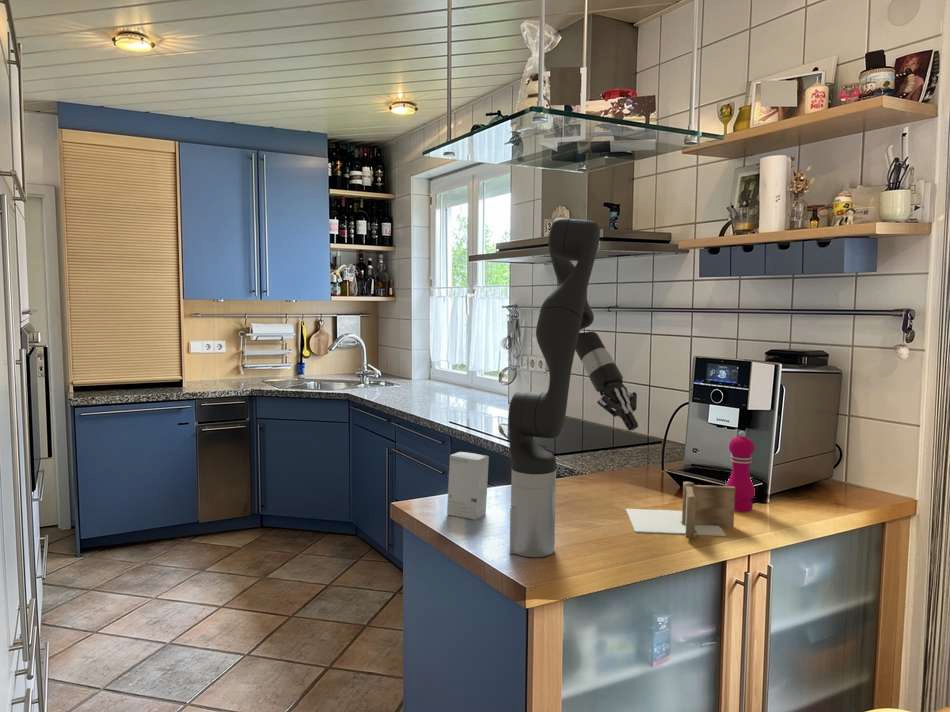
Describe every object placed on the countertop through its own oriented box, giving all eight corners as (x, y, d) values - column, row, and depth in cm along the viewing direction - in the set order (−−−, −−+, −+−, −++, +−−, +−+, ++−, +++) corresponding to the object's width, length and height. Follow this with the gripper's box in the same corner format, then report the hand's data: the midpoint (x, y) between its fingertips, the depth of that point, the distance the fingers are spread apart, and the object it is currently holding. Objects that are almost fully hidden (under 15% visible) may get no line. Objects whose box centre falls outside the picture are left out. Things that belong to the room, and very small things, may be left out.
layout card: (634, 532, 154) (635, 530, 154) (625, 509, 170) (625, 508, 170) (725, 536, 152) (726, 534, 152) (707, 513, 169) (707, 511, 168)
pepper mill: (754, 514, 168) (758, 434, 166) (723, 510, 170) (726, 432, 169) (753, 506, 175) (757, 429, 173) (724, 503, 177) (726, 427, 176)
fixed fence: (683, 526, 158) (684, 484, 157) (680, 522, 161) (682, 481, 160) (734, 528, 157) (736, 485, 156) (731, 525, 159) (733, 483, 159)
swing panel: (694, 539, 147) (695, 497, 146) (685, 538, 148) (687, 497, 147) (691, 523, 158) (693, 484, 157) (683, 523, 158) (684, 484, 157)
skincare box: (446, 515, 164) (447, 455, 163) (458, 509, 170) (458, 450, 169) (477, 520, 161) (478, 459, 160) (488, 513, 166) (489, 454, 165)
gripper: (592, 363, 167) (625, 424, 159) (628, 360, 175) (661, 418, 167) (575, 379, 172) (606, 439, 164) (610, 376, 180) (641, 433, 172)
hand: (634, 428), depth 166 cm, fingers closed
